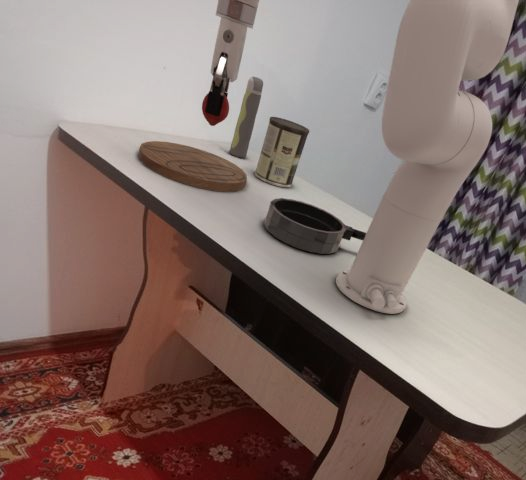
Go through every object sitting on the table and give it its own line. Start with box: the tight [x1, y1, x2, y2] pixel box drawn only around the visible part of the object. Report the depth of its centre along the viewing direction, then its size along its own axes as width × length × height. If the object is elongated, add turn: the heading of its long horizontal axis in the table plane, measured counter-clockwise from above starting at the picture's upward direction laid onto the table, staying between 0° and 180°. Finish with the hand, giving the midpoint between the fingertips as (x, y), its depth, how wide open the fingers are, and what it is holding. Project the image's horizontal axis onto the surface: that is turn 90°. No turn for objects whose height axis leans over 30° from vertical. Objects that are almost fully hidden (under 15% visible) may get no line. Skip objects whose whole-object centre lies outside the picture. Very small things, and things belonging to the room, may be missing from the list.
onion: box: [201, 92, 230, 127], centre depth 99 cm, size 6×6×8 cm
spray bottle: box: [229, 76, 264, 159], centre depth 126 cm, size 5×5×20 cm
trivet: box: [137, 140, 248, 193], centre depth 107 cm, size 25×25×2 cm
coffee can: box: [254, 116, 310, 188], centre depth 117 cm, size 10×10×14 cm
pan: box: [263, 197, 347, 255], centre depth 91 cm, size 16×16×4 cm
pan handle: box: [342, 224, 367, 242], centre depth 92 cm, size 2×12×2 cm, turn 87°
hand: (214, 111), depth 99 cm, fingers closed on onion, 5 cm apart
